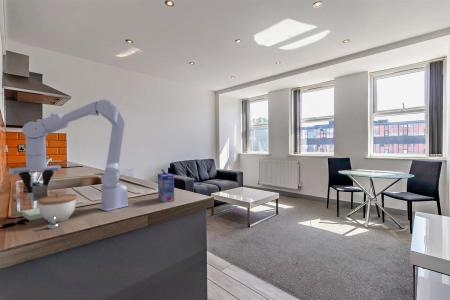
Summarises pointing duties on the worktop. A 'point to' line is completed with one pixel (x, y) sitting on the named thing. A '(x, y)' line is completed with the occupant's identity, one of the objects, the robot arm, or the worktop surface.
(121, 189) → the robot arm
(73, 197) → the lidded jar
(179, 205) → the worktop surface
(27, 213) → the stand
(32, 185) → the housing
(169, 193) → the blue juice carton
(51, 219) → the bolt
